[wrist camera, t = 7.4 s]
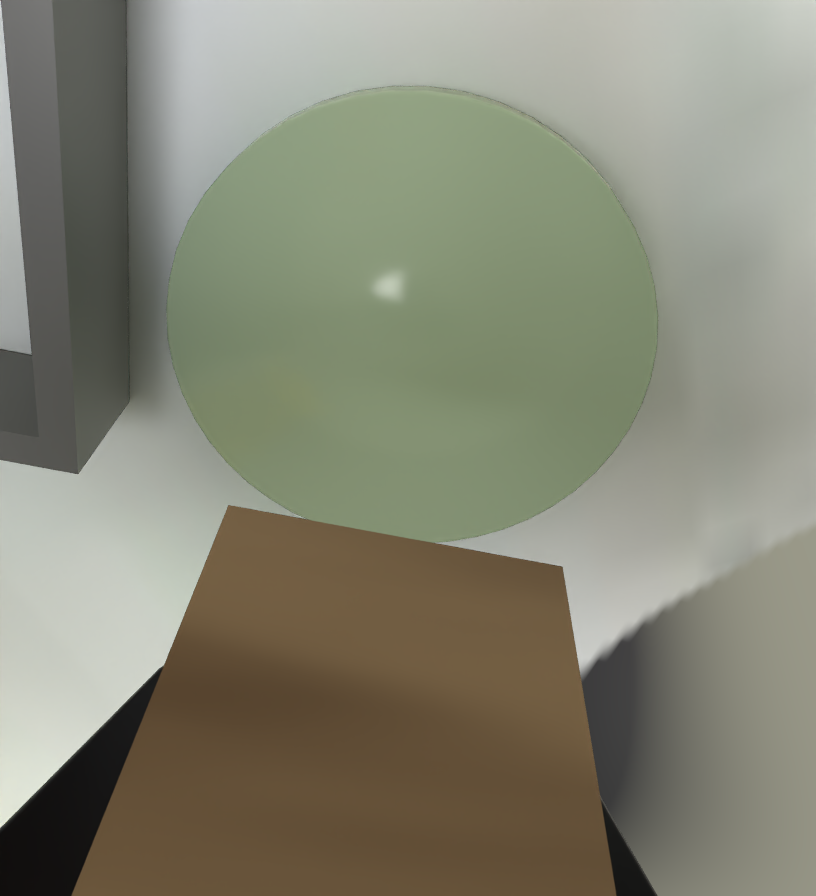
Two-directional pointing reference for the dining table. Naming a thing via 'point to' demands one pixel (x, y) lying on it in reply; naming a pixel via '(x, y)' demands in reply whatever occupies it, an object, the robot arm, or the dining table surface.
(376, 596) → the walnut block
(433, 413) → the plate
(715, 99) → the dining table surface
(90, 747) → the robot arm
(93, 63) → the gray rectangular frame
